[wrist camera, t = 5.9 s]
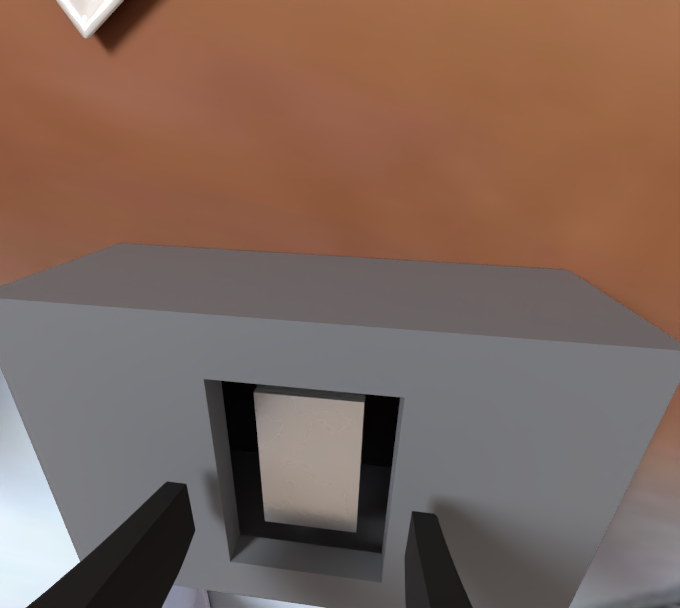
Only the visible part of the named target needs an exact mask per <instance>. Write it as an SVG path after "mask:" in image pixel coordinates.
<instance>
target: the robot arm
mask: <svg viewBox="0 0 680 608" xmlns="http://www.w3.org/2000/svg"><path fill="white" fill-rule="evenodd" d="M194 533H195V524H194V519H193V514H192V509H191V504H190V499H189V494H188V489H187V484H184V483H176V482H168V481H167V482H166V483H164V484H163V485H162V486H161V487H160V488H159V489H158V490H157V491H156V492H155V493H154V494H153V495H152V496H151V497H150V498H149V499H147V500H146V501H145V502H144V503H143V504H142V505H141V506H140V507H139V508H138V509H137V510H136V511H135V512H134V513H133V514H132V515H131V516H130V517H129V518H128V519H127V520H125V521H124V522H123V523H122V524H121V525H120V526H119V527H118V528H117V529H116V530H115V531H114V532H113V533H112V534H110V535H109V536H108V537H107V538H106V539H105V540H104V541H103V542H102V543H101V544H100V545H98V546H97V547H96V548H95V549H94V550H93V551H92V552H91V553H90V554H89V555H87V556H86V557H85V558H84V559H83V560H82V561H81V562H80V563H78V564H77V565H76V566H75V567H74V568H73V569H71V570H70V571H69V572H68V573H67V574H66V575H64V576H63V577H62V578H61V579H60V580H59V581H58V582H56V583H55V584H54V585H53V586H52V587H51V588H49V589H48V590H47V591H46V592H45V593H43V594H42V595H41V596H40V597H39V598H37V599H36V600H35V601H34V602H32V603H31V604H30V605H29V606H27V607H26V608H210V603H209V598H208V593H207V590H203V589H196V588H189V587H182V586H175V585H173V584H174V582H175V580H176V578H177V576H178V574H179V572H180V570H181V567H182V565H183V562H184V560H185V557H186V554H187V552H188V549H189V547H190V544H191V541H192V539H193V536H194ZM404 562H405V603H406V608H473V607H472V605H471V602H470V600H469V598H468V596H467V593H466V591H465V589H464V587H463V584H462V582H461V579H460V577H459V575H458V572H457V570H456V567H455V565H454V562H453V560H452V557H451V555H450V552H449V549H448V547H447V544H446V541H445V538H444V536H443V533H442V530H441V527H440V523H439V520H438V517H437V516H436V515H435V514H433V513H425V512H417V511H412V514H411V520H410V526H409V532H408V539H407V545H406V551H405V557H404Z"/></svg>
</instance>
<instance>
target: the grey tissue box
mask: <svg viewBox="0 0 680 608" xmlns="http://www.w3.org/2000/svg"><path fill="white" fill-rule="evenodd" d="M0 367H1V370H2V372H3V374H4V377H5V379H6V382H7V384H8V387H9V389H10V392H11V394H12V396H13V399H14V401H15V404H16V406H17V409H18V411H19V413H20V416H21V418H22V421H23V423H24V426H25V428H26V431H27V433H28V435H29V438H30V440H31V443H32V445H33V448H34V450H35V452H36V455H37V457H38V460H39V462H40V465H41V467H42V470H43V472H44V474H45V477H46V479H47V482H48V484H49V487H50V489H51V491H52V494H53V496H54V499H55V501H56V504H57V506H58V509H59V511H60V513H61V516H62V518H63V521H64V523H65V526H66V528H67V530H68V533H69V535H70V538H71V540H72V543H73V545H74V548H75V550H76V552H77V555H78V557H79V560H80V562H81V561H82V560H83V559H84V558H85V557H86V556H87V555H89V554H90V553H91V552H92V551H93V550H94V549H95V548H96V547H97V546H98V545H100V544H101V543H102V542H103V541H104V540H105V539H106V538H107V537H108V536H109V535H110V534H112V533H113V532H114V531H115V530H116V529H117V528H118V527H119V526H120V525H121V524H122V523H123V522H124V521H125V520H127V519H128V518H129V517H130V516H131V515H132V514H133V513H134V512H135V511H136V510H137V509H138V508H139V507H140V506H141V505H142V504H143V503H144V502H145V501H146V500H147V499H149V498H150V497H151V496H152V495H153V494H154V493H155V492H156V491H157V490H158V489H159V488H160V487H161V486H162V485H163V484H164V483H166V482H167V481H168V482H176V483H184V484H187V489H188V494H189V499H190V504H191V509H192V514H193V519H194V524H195V533H194V536H193V539H192V541H191V544H190V547H189V549H188V552H187V554H186V557H185V560H184V562H183V565H182V567H181V570H180V572H179V574H178V576H177V578H176V580H175V582H174V584H173V585H175V586H182V587H189V588H196V589H203V590H209V591H216V592H223V593H230V594H237V595H244V596H250V597H257V598H264V599H271V600H278V601H284V602H291V603H298V604H305V605H312V606H318V607H325V608H406V603H405V562H404V557H405V551H406V545H407V539H408V532H409V526H410V520H411V514H412V511H417V512H425V513H433V514H435V515H436V516H437V517H438V520H439V523H440V527H441V530H442V533H443V536H444V538H445V541H446V544H447V547H448V549H449V552H450V555H451V557H452V560H453V562H454V565H455V567H456V570H457V572H458V575H459V577H460V579H461V582H462V584H463V587H464V589H465V591H466V593H467V596H468V598H469V600H470V602H471V605H472V607H473V608H569V606H570V604H571V602H572V600H573V598H574V596H575V594H576V591H577V589H578V587H579V585H580V583H581V581H582V579H583V577H584V575H585V573H586V571H587V569H588V567H589V565H590V563H591V561H592V559H593V557H594V555H595V553H596V551H597V549H598V547H599V545H600V543H601V541H602V539H603V537H604V535H605V532H606V530H607V528H608V526H609V524H610V522H611V520H612V518H613V516H614V514H615V512H616V510H617V508H618V506H619V504H620V502H621V500H622V498H623V496H624V494H625V492H626V490H627V488H628V486H629V484H630V482H631V480H632V478H633V476H634V474H635V471H636V469H637V467H638V465H639V463H640V461H641V459H642V457H643V455H644V453H645V451H646V449H647V447H648V445H649V443H650V441H651V439H652V437H653V435H654V433H655V431H656V429H657V427H658V425H659V423H660V421H661V419H662V417H663V415H664V413H665V410H666V408H667V406H668V404H669V402H670V400H671V398H672V396H673V394H674V392H675V390H676V388H677V386H678V384H679V382H680V342H679V341H677V340H676V339H674V338H673V337H671V336H669V335H668V334H666V333H665V332H663V331H662V330H660V329H659V328H657V327H656V326H654V325H652V324H651V323H649V322H648V321H646V320H645V319H643V318H642V317H640V316H639V315H637V314H635V313H634V312H632V311H631V310H629V309H628V308H626V307H625V306H623V305H622V304H620V303H618V302H617V301H615V300H614V299H612V298H611V297H609V296H608V295H606V294H605V293H603V292H602V291H600V290H598V289H597V288H595V287H594V286H592V285H591V284H589V283H588V282H586V281H585V280H583V279H581V278H580V277H578V276H577V275H575V274H574V273H572V272H571V271H569V270H561V269H544V268H527V267H511V266H494V265H477V264H461V263H444V262H427V261H410V260H394V259H377V258H360V257H343V256H327V255H310V254H293V253H277V252H260V251H243V250H226V249H210V248H193V247H176V246H159V245H143V244H126V243H120V244H117V245H114V246H111V247H108V248H106V249H103V250H100V251H97V252H94V253H92V254H89V255H86V256H83V257H80V258H77V259H75V260H72V261H69V262H66V263H63V264H61V265H58V266H55V267H52V268H49V269H47V270H44V271H41V272H38V273H35V274H33V275H30V276H27V277H24V278H21V279H19V280H16V281H13V282H10V283H7V284H5V285H2V286H0ZM221 381H230V382H241V383H251V384H262V385H273V386H284V387H294V388H305V389H316V390H327V391H337V392H348V393H359V394H370V395H380V396H391V397H400V404H399V412H398V420H397V429H396V437H395V445H394V454H393V462H392V467H385V466H376V465H367V464H361V474H360V487H359V501H358V515H357V528H356V533H355V532H347V531H339V530H331V529H323V528H315V527H307V526H299V525H292V524H284V523H276V522H268V521H265V517H264V506H263V494H262V483H261V472H260V460H259V453H258V452H249V451H240V450H231V449H230V448H229V440H228V432H227V423H226V415H225V407H224V399H223V391H222V382H221Z"/></svg>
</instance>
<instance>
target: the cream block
mask: <svg viewBox="0 0 680 608" xmlns="http://www.w3.org/2000/svg"><path fill="white" fill-rule="evenodd" d="M365 401H366V394H359V393H348V392H337V391H327V390H316V389H305V388H294V387H284V386H273V385H262V384H258V385H257V387H256V389H255V391H254V403H255V415H256V426H257V437H258V449H259V460H260V472H261V483H262V494H263V506H264V517H265V521H268V522H276V523H284V524H292V525H299V526H307V527H315V528H323V529H331V530H339V531H347V532H355V533H356V528H357V515H358V501H359V487H360V474H361V460H362V447H363V433H364V417H365Z"/></svg>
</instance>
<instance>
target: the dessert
mask: <svg viewBox="0 0 680 608" xmlns="http://www.w3.org/2000/svg"><path fill="white" fill-rule="evenodd" d="M56 1H57V3H58V4H59V5H60V7H61V8H62V9H63V11H64V12H65V13H66V15H67V16H68V18H69V19H70V20H71V22H72V23H73V24H74V26H75V27H76V28H77V30H78V31H79V32H80V34H81V35H82V36H83V37H84V38H86V39H89V38H90V37H91V36H92V35H93V34H94V33H95V32H96V31H97V29H98V28H99V27H100V26H101V25H102V24H103V23H104V22H105V21H106V20H107V19H108V17H109V16H110V15H111V14H112V13H113V12H114V11H115V10H116V9H117V8H118V6H119V5H120V4H121V3H122V2H123V1H124V0H56Z"/></svg>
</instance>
